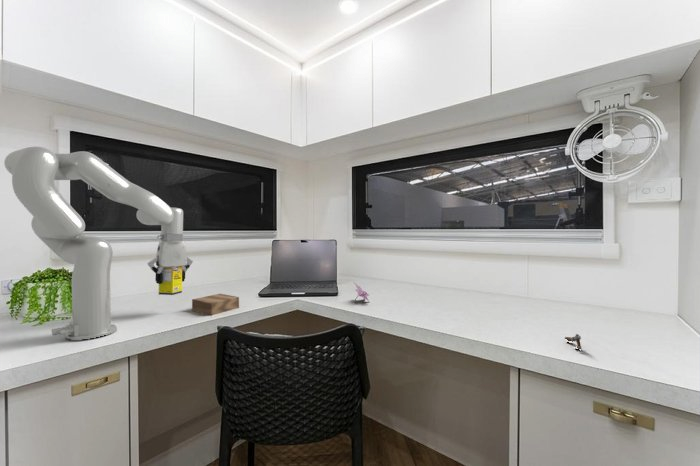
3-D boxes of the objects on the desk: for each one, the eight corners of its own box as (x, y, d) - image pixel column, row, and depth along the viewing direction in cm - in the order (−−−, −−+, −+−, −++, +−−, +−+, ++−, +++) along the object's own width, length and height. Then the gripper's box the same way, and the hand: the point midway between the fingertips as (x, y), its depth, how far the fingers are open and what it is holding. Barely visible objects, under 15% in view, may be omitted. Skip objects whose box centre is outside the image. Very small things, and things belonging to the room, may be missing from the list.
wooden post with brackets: (577, 351, 85) (575, 333, 87) (566, 352, 93) (564, 336, 94) (585, 351, 85) (583, 334, 86) (573, 353, 92) (571, 336, 94)
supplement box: (182, 292, 126) (183, 265, 126) (172, 295, 120) (173, 267, 120) (168, 292, 126) (169, 265, 126) (158, 294, 120) (158, 266, 120)
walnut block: (211, 316, 121) (211, 303, 121) (192, 311, 127) (192, 299, 127) (239, 308, 132) (238, 297, 132) (219, 304, 139) (219, 293, 138)
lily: (368, 308, 136) (376, 289, 138) (346, 298, 136) (354, 279, 139) (365, 309, 146) (372, 292, 149) (345, 300, 147) (352, 283, 149)
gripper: (152, 238, 114) (150, 285, 114) (198, 238, 128) (197, 281, 128) (143, 238, 118) (142, 283, 118) (188, 238, 132) (187, 279, 132)
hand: (170, 282), depth 123 cm, fingers closed on supplement box, 8 cm apart
